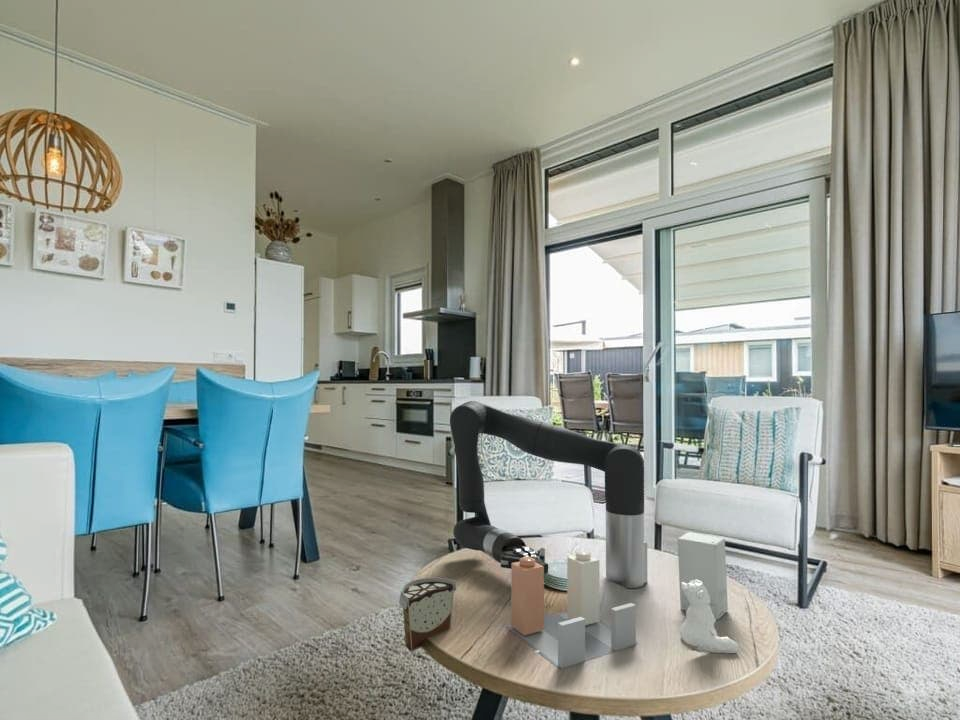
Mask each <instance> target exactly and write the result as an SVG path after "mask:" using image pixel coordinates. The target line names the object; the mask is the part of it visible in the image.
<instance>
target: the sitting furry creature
mask: <svg viewBox="0 0 960 720" xmlns="http://www.w3.org/2000/svg"><path fill="white" fill-rule="evenodd" d="M681 588H682V590H683V591H684V595H686V596H687V599H688V600H689V602H690V603H691V605H690V606H689V607H688V610H687V611H685V613H686V615H685V620H683V623H682V625H681V629H680V631H679V635H680V638H681V640H682V641H683V642H684V643H685V644H686V645H689V646H693V647H694V648H692V651H696V652H698V653H710V652H712V654H713V653H714V652H715V653H716V654H728V653H734V654H736V653H738V652H739V644H738V643H737V642H736V641H735V640H733V639H731V638H730V637H729V636H726V635H725V636H718V634H717V633H718V632H717V630H716V628H715V623H716V622H717V619H715V618H714V616H713V614H712V610H711V608H710V605H709V603H710V596H709V595H708V591H707V589H706V588H705V587H704V586H703V582H702V581H700V580H692V581H690V582H689V583H688V584H687V583H684V582H682V583H681ZM715 653H714V654H715Z"/></svg>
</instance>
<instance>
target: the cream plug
mask: <svg viewBox="0 0 960 720" xmlns="http://www.w3.org/2000/svg"><path fill="white" fill-rule="evenodd" d="M566 559H567V560H566V562H567V563H566V564H567V567H566V570H567V571H566V574H567V575H566V577H567V579H566V580H567V582H566V584H567V585H566V587H567V588H566V589H567V590H566V591H567V593H566V594H567V597H566V599H567V602H566V603H567V604H566V606H567V607H566V608H567V610H566V611H567V617H568V618H569V619H574V618H578V617H582V618H584V619H585V625H588V624H592V623H595V622H599V621H600V619H601V618H600V617H601V616H600V614H601V612H600V607H601V606H600V605H601V604H600V597H601V596H600V588H601V587H600V559H598V558H596V557H593V556H592V554H591V552H589V551H585V550H578V551H576V552H575V555H570V556H567V557H566Z"/></svg>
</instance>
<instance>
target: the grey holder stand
mask: <svg viewBox="0 0 960 720" xmlns="http://www.w3.org/2000/svg"><path fill="white" fill-rule="evenodd" d="M636 606H637V605H636V604H634V603H632V602H630V603H626V604H621V605H619V606H615V607H611V609H610V621H611V622H610V626H609V625H608V624H605V623H604V622H603V621H599V622H595V623H592V624H588V625H585V619H584V618H582V617H578V618H574V619H569V618H568V617H567V610H565V611H562V612H557V613H555V614H550V615H547V616H544V630H543V631H539V632H535V633H532V634H528V635H525V636H524V635H523V634H521V633H520V632H519V631H517V630H516V629H515V628H513V627H512V626H511V625H508V626H506V627H505V628H506V629H507V630H509V631H510V632H511V633H512V634H514V635H515V636H517V637H518V638H519V639H520V640H522V642H524V643H525V644H527V645H528V646H529V647H530V648H532V649H533V650H534V651H533V652H534V653H535V654H540V655H541V656H542V657H543V658H545V660H547V661H548V662H549V663H551V664H552V665H554V666H555V667H556V668H557V669H558V670H559V671H560V670H561V671H562V670H564V669H566V668H569V667H573V666H576V665H578V664H582V663H585V662H588V661H592V660H593V659H597V658H600V657H603V656H605V655H609V654H613V653H615V652H618V651H622V650H624V649H627V648H630V647H634V646H637V645H639V643H638V642H637V607H636Z"/></svg>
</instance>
